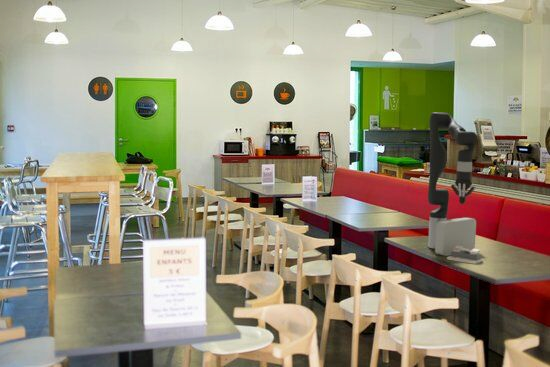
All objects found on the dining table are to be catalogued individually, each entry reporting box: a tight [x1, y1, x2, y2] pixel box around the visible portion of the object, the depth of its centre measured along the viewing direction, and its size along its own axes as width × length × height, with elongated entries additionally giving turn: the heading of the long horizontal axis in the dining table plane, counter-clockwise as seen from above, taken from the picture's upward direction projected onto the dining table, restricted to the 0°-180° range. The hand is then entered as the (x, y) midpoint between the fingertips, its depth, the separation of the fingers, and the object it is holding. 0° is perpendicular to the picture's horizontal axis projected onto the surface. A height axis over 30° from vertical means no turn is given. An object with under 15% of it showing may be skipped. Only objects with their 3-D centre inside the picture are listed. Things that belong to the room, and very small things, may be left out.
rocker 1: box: [453, 246, 463, 252], centre depth 348 cm, size 5×3×1 cm, turn 142°
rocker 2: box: [470, 248, 481, 254], centre depth 343 cm, size 5×3×1 cm, turn 142°
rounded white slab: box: [434, 217, 477, 257], centre depth 364 cm, size 29×8×18 cm, turn 129°
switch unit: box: [446, 251, 484, 265], centre depth 345 cm, size 10×15×4 cm, turn 52°
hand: (462, 203), depth 347 cm, fingers closed
